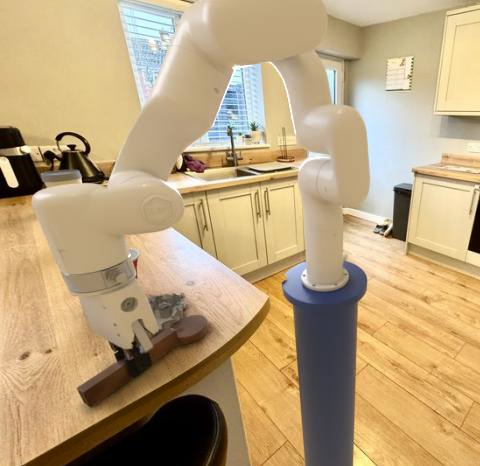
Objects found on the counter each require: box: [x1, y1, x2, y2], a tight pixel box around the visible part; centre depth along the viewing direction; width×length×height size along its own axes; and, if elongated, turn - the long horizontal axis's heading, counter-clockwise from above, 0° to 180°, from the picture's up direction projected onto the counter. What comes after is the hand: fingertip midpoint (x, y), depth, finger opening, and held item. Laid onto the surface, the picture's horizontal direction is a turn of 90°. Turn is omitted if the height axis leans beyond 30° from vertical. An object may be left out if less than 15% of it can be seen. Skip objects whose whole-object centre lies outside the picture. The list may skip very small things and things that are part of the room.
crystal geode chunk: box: [144, 292, 187, 339], centre depth 59 cm, size 11×8×4 cm
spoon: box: [76, 314, 210, 409], centre depth 50 cm, size 20×6×3 cm, turn 155°
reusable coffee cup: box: [40, 169, 83, 189], centre depth 126 cm, size 13×13×15 cm
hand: (137, 367), depth 48 cm, fingers closed on spoon
